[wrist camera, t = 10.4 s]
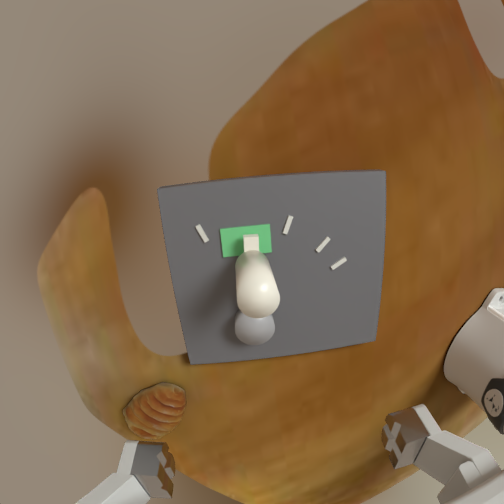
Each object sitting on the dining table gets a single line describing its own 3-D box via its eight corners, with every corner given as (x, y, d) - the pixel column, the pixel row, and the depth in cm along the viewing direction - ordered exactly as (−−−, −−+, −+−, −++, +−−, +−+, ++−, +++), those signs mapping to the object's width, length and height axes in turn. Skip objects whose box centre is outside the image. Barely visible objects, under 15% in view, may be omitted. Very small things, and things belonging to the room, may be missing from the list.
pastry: (152, 367, 33) (145, 389, 30) (201, 393, 35) (200, 416, 31) (122, 407, 35) (115, 428, 32) (166, 429, 37) (163, 450, 33)
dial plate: (378, 169, 27) (386, 171, 26) (370, 333, 33) (376, 341, 32) (160, 186, 27) (156, 189, 25) (191, 356, 33) (190, 365, 31)
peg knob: (273, 334, 30) (284, 384, 23) (235, 336, 30) (238, 388, 23) (271, 231, 27) (286, 262, 20) (228, 233, 27) (228, 265, 20)
